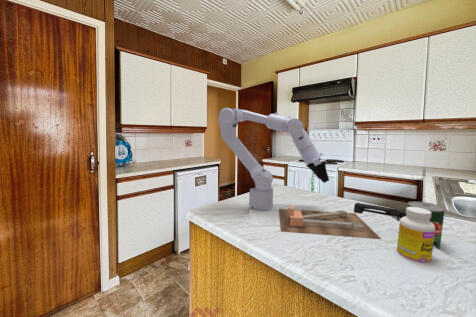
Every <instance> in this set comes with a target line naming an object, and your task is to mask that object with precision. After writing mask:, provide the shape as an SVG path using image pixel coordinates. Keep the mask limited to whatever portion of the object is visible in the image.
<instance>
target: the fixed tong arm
mask: <svg viewBox="0 0 476 317" xmlns="http://www.w3.org/2000/svg"><path fill="white" fill-rule="evenodd" d="M303 226H311V227H325V228H339V229H352V230H353V231H364V226H363V225H362V224H361V223H352V222H337V221H322V220H307V219H303Z"/></svg>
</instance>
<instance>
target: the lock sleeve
mask: <svg viewBox="0 0 476 317" xmlns="http://www.w3.org/2000/svg"><path fill="white" fill-rule="evenodd" d="M288 209H289V213H288V218H290V226H298V227H303V216H302V213H301V210H302V209H295V207H294V204H289V205H288Z"/></svg>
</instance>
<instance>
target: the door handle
mask: <svg viewBox="0 0 476 317" xmlns="http://www.w3.org/2000/svg"><path fill="white" fill-rule="evenodd" d="M353 206H354V207H353V213H355V214H363V213H364V212H367V213H373V214H377V215H384V216H388V217H389V216H390V217H391V218H392V219H394V220H396V221H397V222H400V219H401V218H402V217H405V216H407V214H406V209H399V208H393V207H387V206H380V205H374V204H370V203H369V204H368V203H362V202H356V203H355V204H354V205H353Z"/></svg>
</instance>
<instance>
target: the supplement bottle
mask: <svg viewBox="0 0 476 317" xmlns="http://www.w3.org/2000/svg"><path fill="white" fill-rule="evenodd" d="M405 210H406V214H407V216H405V217H402V218H401V217H400V218H399V228H398V233H397V234H398V236H397V237H398V238H397V244H396V252H397V253H398V254H399V255H401V257H403V258H406V259H409V260H412V261H415V262H419V263H430V262H431V261H432V257H433V249H434V246H433V242H434V234H435V226H434V224H433V223H432V222H430V221H429V219H430V218H431V212H430V211H429V210H426V209H423V208H418V207H408V206H407V207H406V208H405Z"/></svg>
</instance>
